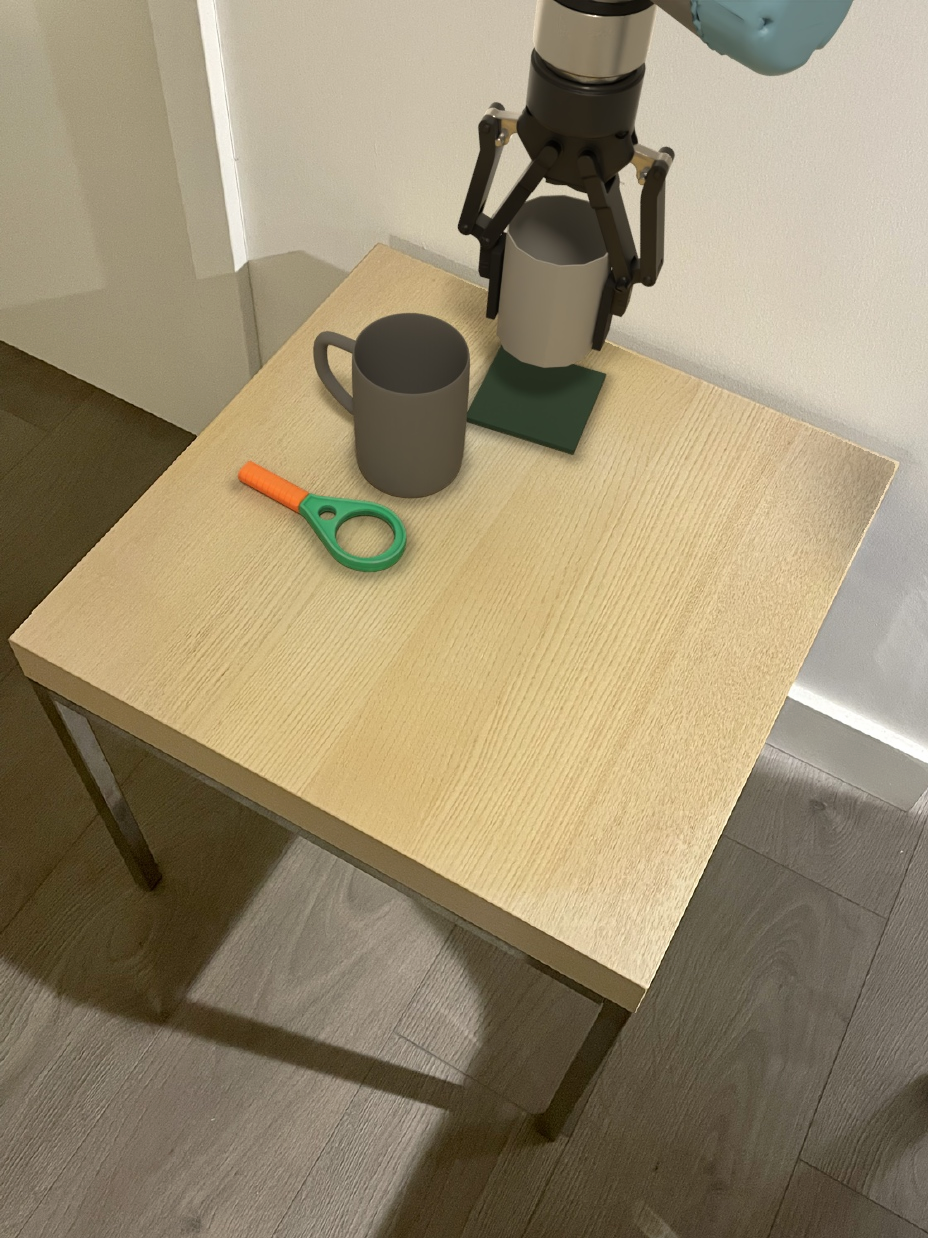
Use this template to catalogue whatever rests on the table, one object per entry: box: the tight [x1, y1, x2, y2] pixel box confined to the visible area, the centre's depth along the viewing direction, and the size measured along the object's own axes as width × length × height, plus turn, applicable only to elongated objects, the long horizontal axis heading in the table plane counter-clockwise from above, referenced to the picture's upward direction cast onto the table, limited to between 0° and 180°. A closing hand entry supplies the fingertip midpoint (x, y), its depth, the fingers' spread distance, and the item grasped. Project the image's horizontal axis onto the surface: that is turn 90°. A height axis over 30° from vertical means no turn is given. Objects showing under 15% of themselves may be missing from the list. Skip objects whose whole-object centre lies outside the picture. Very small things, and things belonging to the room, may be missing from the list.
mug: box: [312, 312, 471, 499], centre depth 86 cm, size 14×9×12 cm
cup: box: [495, 194, 612, 368], centre depth 85 cm, size 8×8×10 cm
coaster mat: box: [466, 343, 607, 456], centre depth 95 cm, size 10×10×1 cm
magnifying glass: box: [237, 460, 407, 573], centre depth 86 cm, size 15×6×2 cm, turn 59°
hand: (547, 323), depth 88 cm, fingers closed on cup, 8 cm apart
